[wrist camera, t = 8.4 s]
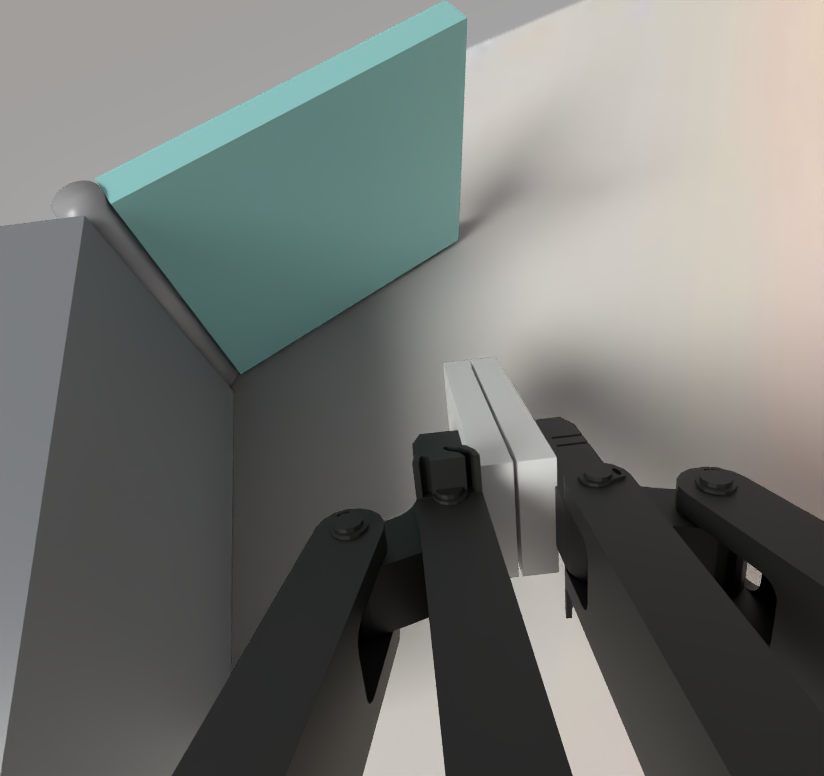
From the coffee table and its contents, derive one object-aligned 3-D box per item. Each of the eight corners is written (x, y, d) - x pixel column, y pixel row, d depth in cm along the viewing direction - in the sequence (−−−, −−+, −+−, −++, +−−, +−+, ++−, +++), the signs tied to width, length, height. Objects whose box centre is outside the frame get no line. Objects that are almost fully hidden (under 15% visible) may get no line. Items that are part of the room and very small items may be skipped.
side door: (215, 394, 22) (61, 228, 13) (191, 355, 22) (31, 174, 14) (459, 242, 24) (469, 15, 15) (430, 212, 25) (424, -21, 16)
